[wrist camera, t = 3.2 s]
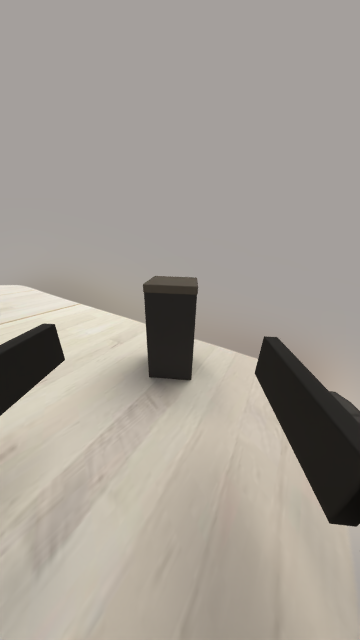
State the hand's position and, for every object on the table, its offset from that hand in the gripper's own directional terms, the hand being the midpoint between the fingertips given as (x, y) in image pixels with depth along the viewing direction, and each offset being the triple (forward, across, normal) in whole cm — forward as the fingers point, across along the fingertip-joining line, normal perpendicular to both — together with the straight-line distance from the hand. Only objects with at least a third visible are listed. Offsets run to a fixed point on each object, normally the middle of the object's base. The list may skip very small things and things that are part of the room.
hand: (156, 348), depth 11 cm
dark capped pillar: (+9, 0, -8) cm, 12 cm away
